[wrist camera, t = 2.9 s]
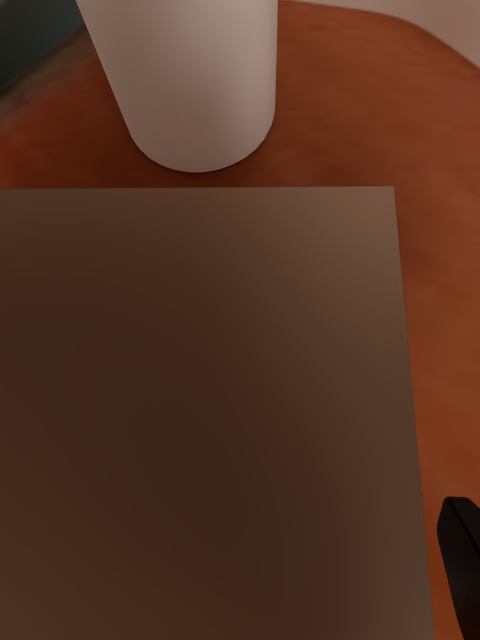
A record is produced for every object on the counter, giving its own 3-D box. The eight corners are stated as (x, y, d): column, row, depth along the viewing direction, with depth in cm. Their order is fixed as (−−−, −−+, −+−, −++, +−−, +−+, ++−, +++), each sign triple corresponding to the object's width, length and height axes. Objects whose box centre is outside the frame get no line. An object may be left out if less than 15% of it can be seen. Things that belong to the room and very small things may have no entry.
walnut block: (301, 515, 18) (440, 695, 4) (181, 510, 18) (-128, 661, 4) (299, 394, 19) (392, 186, 5) (189, 392, 20) (-11, 188, 5)
